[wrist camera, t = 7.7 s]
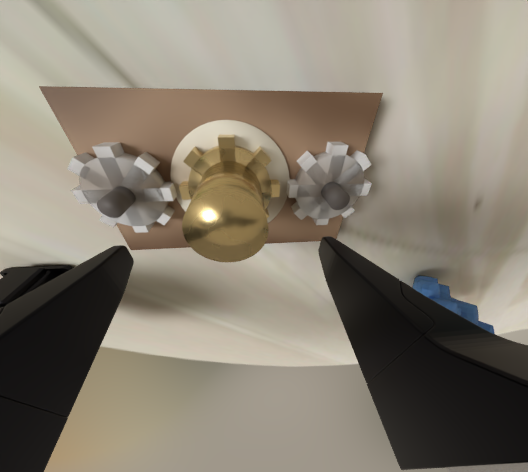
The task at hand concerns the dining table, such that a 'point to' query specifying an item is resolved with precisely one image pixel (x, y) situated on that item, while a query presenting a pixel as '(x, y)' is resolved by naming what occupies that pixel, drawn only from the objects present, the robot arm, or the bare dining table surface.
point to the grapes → (448, 300)
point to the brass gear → (227, 201)
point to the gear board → (206, 137)
